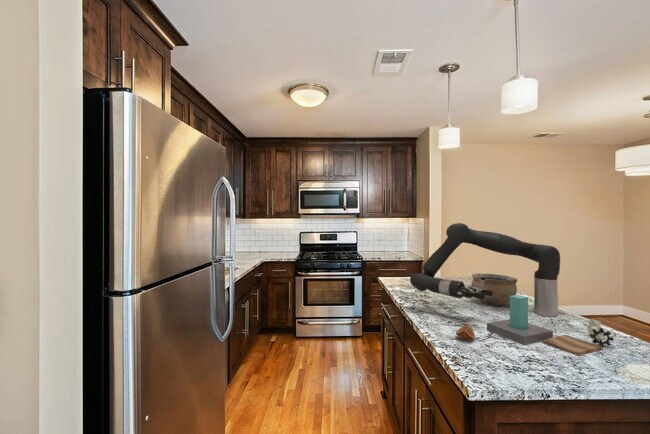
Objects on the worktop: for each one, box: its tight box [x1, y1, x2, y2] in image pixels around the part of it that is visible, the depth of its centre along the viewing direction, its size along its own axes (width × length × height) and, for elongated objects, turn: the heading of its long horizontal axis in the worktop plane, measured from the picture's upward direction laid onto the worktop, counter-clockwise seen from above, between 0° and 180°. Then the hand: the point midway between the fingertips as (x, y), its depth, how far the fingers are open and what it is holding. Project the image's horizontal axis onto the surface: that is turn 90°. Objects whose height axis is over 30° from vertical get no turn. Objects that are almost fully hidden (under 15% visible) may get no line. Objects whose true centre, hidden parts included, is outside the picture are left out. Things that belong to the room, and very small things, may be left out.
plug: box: [509, 294, 529, 330], centre depth 126 cm, size 4×4×15 cm
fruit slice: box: [455, 323, 476, 341], centre depth 120 cm, size 8×7×5 cm
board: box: [541, 334, 604, 357], centre depth 115 cm, size 14×12×1 cm
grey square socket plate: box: [486, 318, 554, 346], centre depth 126 cm, size 16×16×3 cm
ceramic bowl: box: [471, 272, 518, 306], centre depth 172 cm, size 22×22×15 cm
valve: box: [587, 319, 615, 348], centre depth 120 cm, size 7×7×12 cm
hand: (488, 295), depth 134 cm, fingers open, 8 cm apart
